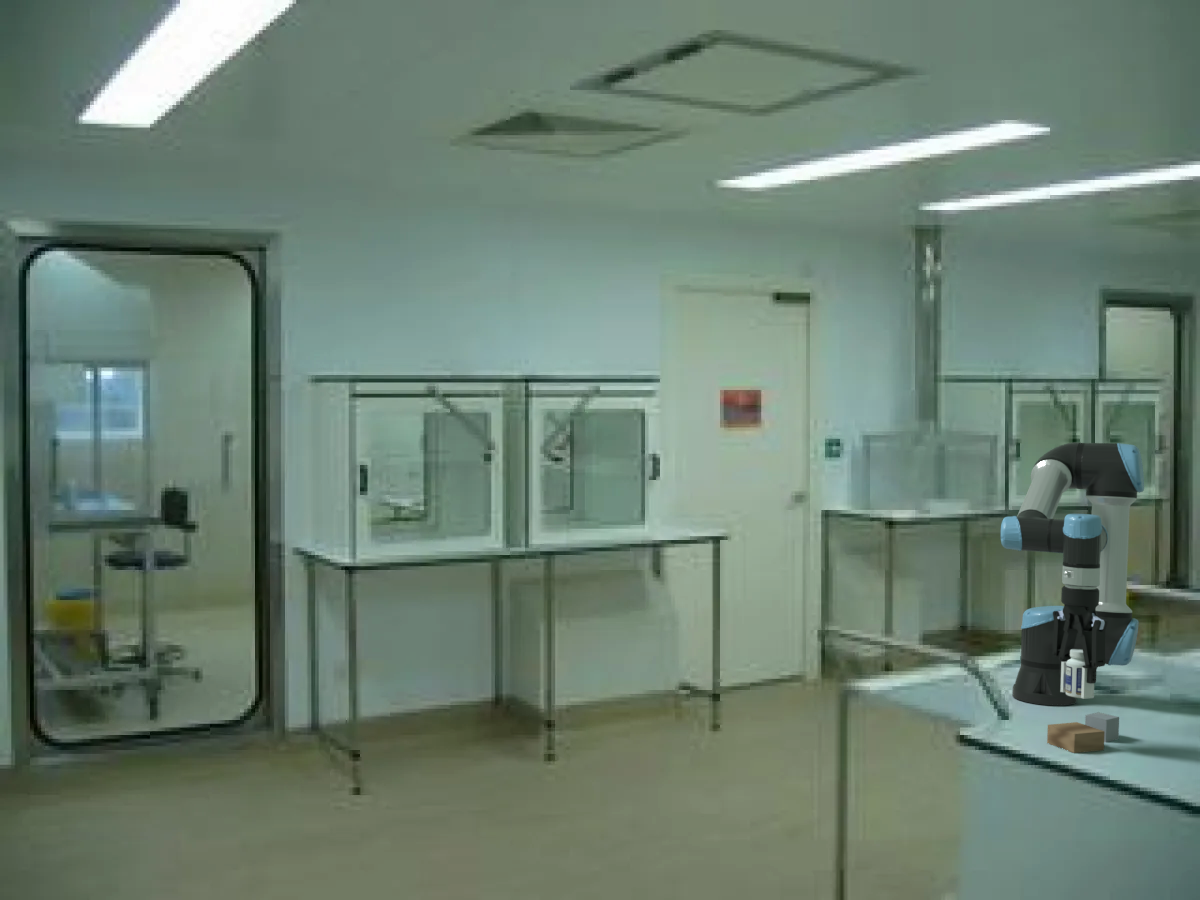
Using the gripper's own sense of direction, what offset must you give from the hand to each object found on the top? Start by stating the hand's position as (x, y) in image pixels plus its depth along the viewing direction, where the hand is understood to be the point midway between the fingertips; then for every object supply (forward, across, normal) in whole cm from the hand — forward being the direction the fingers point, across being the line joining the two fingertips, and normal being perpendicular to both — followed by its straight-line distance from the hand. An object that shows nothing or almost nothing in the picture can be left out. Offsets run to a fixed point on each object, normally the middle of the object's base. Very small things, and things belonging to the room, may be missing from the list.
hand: (1076, 694), depth 257 cm
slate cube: (+11, -4, +11) cm, 16 cm away
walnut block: (+11, 0, 0) cm, 11 cm away
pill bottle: (+1, 0, 0) cm, 1 cm away
